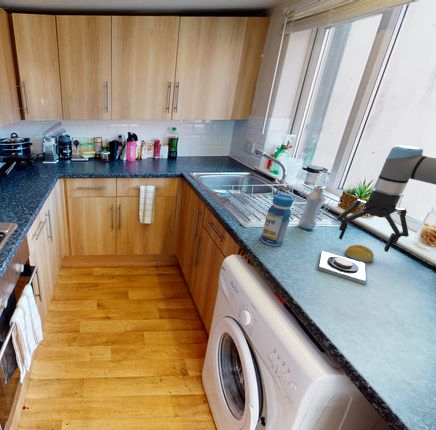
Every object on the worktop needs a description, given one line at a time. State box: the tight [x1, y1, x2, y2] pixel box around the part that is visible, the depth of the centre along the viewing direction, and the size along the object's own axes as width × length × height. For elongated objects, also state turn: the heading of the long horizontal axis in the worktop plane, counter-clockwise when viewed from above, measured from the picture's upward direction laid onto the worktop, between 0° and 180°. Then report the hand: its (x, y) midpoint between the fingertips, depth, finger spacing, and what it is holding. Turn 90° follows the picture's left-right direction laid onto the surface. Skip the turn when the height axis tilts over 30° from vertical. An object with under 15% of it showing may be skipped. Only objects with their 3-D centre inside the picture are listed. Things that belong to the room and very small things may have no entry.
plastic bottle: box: [298, 184, 326, 230], centre depth 127 cm, size 6×7×20 cm
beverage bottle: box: [260, 193, 294, 247], centre depth 115 cm, size 8×8×20 cm
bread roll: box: [344, 244, 375, 263], centre depth 109 cm, size 8×9×4 cm
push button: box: [317, 250, 367, 285], centre depth 102 cm, size 13×13×3 cm
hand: (362, 244), depth 108 cm, fingers open, 13 cm apart
